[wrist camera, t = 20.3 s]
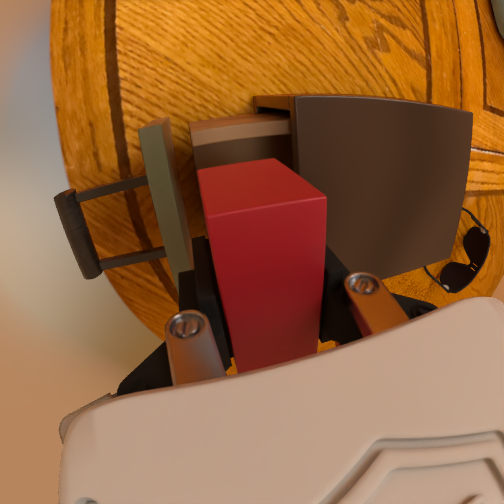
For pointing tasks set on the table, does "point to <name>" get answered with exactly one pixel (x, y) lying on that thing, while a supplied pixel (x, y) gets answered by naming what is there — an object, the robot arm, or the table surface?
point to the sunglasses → (477, 251)
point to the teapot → (499, 14)
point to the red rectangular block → (266, 258)
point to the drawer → (176, 183)
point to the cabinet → (381, 174)
